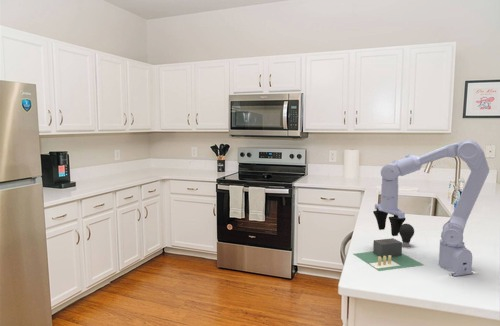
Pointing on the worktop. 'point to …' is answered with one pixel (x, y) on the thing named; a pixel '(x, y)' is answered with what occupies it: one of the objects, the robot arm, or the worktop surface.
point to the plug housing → (387, 247)
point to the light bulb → (406, 234)
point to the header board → (387, 261)
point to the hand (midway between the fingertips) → (388, 232)
